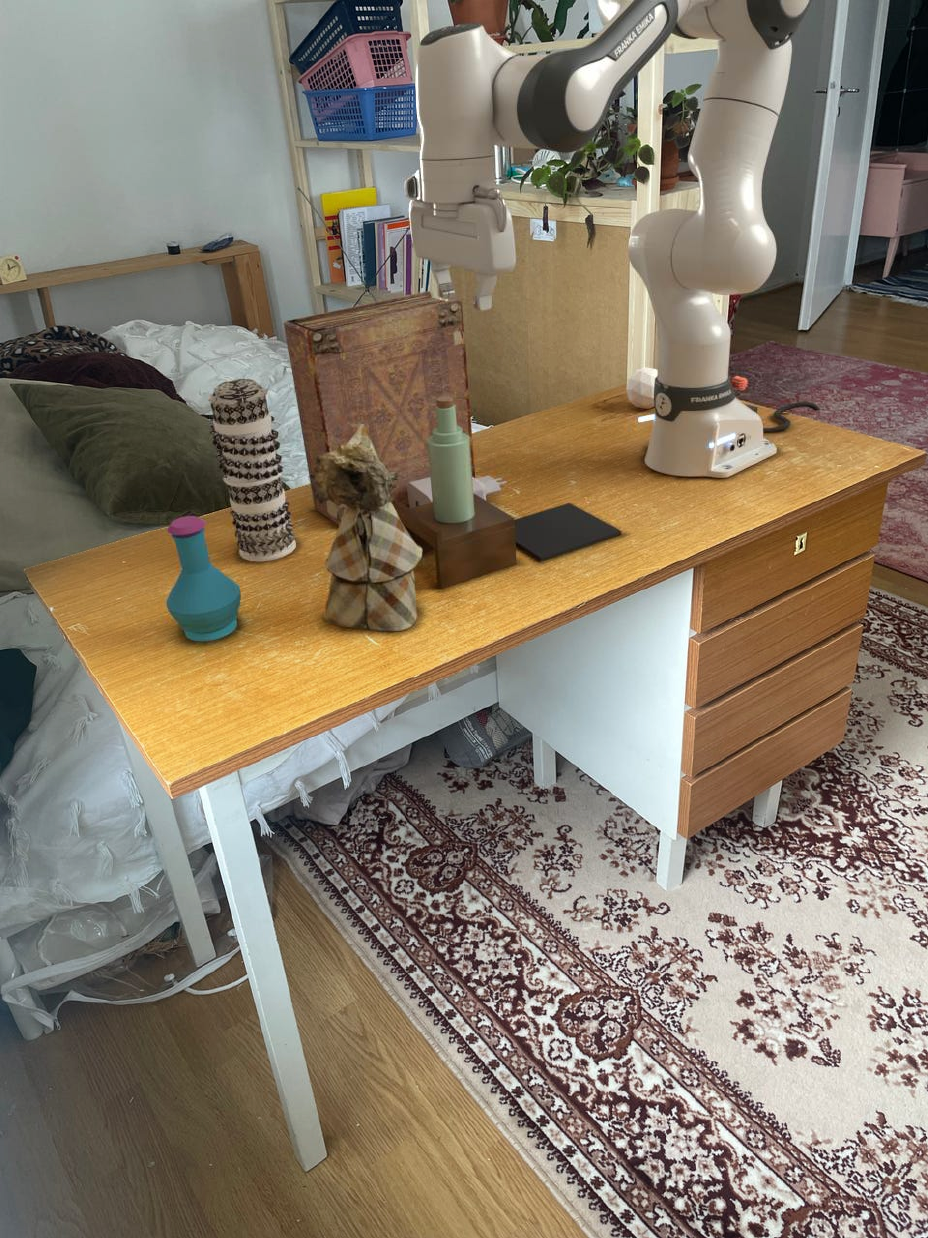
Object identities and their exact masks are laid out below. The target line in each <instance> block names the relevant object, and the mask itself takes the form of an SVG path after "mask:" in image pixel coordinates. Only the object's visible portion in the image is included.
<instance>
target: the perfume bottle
mask: <svg viewBox="0 0 928 1238" xmlns="http://www.w3.org/2000/svg"><path fill="white" fill-rule="evenodd" d="M206 525H207V522H206V521H205V520H204V519H202V518H201V517H199V516H196V515H187V516H182V517H178V518H175V519H174V520H173V521H172V522H171V523H170V524H169V526H168V527H167V529H166V532H167V533H168V534H170V535H171V538H172V539H173V540H174V543H175V548H176V553H177V556H178V560H179V564H180V567H181V568H180V569H181V570H180V572H179V574H178V576H177V579H176V581H175V583H174V584H173V587H172V588H171V590H170V592H169V594H168V595H167V598H166V603H165V605H166V607H167V610H168V612H169V614H170V615H171V617H172V619H174V621H175V622H176V623H177V624H178V626H179V628H181V629H182V630H183V631H184V634H185V636H186V638H188V639H189V640H190V641H194V642H211V641H215V640H219V639H222V638H224V637H226V636H228V635H230V634H231V633H233V632H234V631H235V630H236V628H237V626H238V622H237V618H238V615H239V608H240V605H241V600H242V599H241V597H242V595H241V588H240V585H239V584H238V583H237V582H235V580H233V579H232V578H230V577H229V576H228V575H226V574H225V573H224V572H222V571H221V570H219V569H218V568H217V567H216V566H214V565H213V564H212V563H211V559H210V556H209V550H208V546H207V542H206V537H205V532H206V531H205V527H206Z"/></svg>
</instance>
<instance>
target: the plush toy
mask: <svg viewBox="0 0 928 1238" xmlns="http://www.w3.org/2000/svg"><path fill="white" fill-rule="evenodd" d="M316 464H317V465H318V467H315V469H314V472H313V475H310V476H309V475H308V477H309V478H310V477H311V478H314V484H312V488H311V492H312V491H313V494H312V497H313V496H314V498H317V499H318V502H319V504H323V503H324V502H326V501H328V500H331V501H332V502H334V504H335V505H336V506H339V505H341V504H344V505H346V509H345V512H344V515H343V518H342V521H341V523H340V526H339V525H338V526H339V527H338V528H337V531H336V534H335V536H334V539H333V541H332V545H331V547H330V548H331V549H330V551H329V555H328V557H326V560H325V562H324V565H325V567H326V568H325V569H326V570H327V572H329V573H331V576H330V583H329V589H328V594H327V599H326V602H325V611H324V612H323V614H322V621H325V622H329V623H331V624H333V625H335V626H341V627H345V628H351V629H352V628H353V629H364V630H369V631H373V630H374V631H382V632H400V631H401V632H402V631H404V630H407V629H410V628H411V627H412V626H414V625H415V623H416V620H417V618H418V615H419V614H418V611H417V598H416V596H417V595H416V594H417V593H416V592H417V591H416V587H415V584H416V581H415V579H416V578H415V570H414V569H415V567H416V566H417V565H418V564H419V562H420V561H421V560H422V558H423V554H422V551H423V549H422V548H421V547H420V546H419V545H417V544H416V543H415V542H414V540H413V539H412V537H411V536H410V534H409V533H408V532H407V530H406V528H405V526H404V525H403V524H402V522H401V520H400V518H399V516H398V514H397V512H396V510H395V508H394V506H393V504H392V503H391V502H392V499H393V495H391V494H390V492H391V491H392V489H394V488H396V487H397V486H396V485H395V483H394V480H398V479H397V477H398V476H399V474H398V473H393V472H388V470H387V469H386V468H385V466H384V464H383V463H381V462H380V461H379V458H378V457H377V454H376V451H375V448H374V446H373V444H372V442H371V439H370V437H369V434H368V432H367V429H366V427H365V425H364V424H362V425H358V429H357V431H356V433H355V434H354V436H353V437H352V438H351V439H350V440H349V442H348V443H347V444H346V445H340V444H337V449H336V450H335V451H333V452H329V453H324V455H323V456H317V458H316ZM317 481H318V482H317ZM338 503H340V504H338Z"/></svg>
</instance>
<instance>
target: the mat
mask: <svg viewBox="0 0 928 1238" xmlns="http://www.w3.org/2000/svg"><path fill="white" fill-rule="evenodd" d="M514 520H515V541H516V547H518V548H519V549H520V550H522V551H524V552H525V553H527V554H529V555H530V556H532V557H533V558H535V559H536V560H537V561H538V562H544V561H547V560H550V559H553V558H556V557H559V556H561V555H565V554H568V553H571V552H574V551H576V550H580V549H582V548H583V549H584V548H586V547H588V546H591V545H595V544H598V543H600V542H603V541H606V540H610V539H612V538H615V537H619V536H622V530H620V529H619V528H617V527H614V526H613V525H611V524H610V523H608V522H606V521H604V520H602V519H601V518H598V517H596V516H595V515H593V514H591V513H590V512H588V511H586V510H584V509H581V508H580V507H578V506H576V505H574V504H573V503H571V502H567V503H565V504H561V505H558V506H557V505H556V506H554V507H551V508H547V509H545V510H541V511H539V512H536V513H532V514H528V515H525V516H522V517H520V518H516V519H514Z"/></svg>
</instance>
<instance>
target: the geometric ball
mask: <svg viewBox="0 0 928 1238" xmlns="http://www.w3.org/2000/svg"><path fill="white" fill-rule="evenodd" d="M657 371H658V369H656V368H652V367H646V366H643V367H641V368H639V369H636V370H634V371H633V372H632V373H631V375H630V376H629V377H628V379H627V381H626V388H625V391H626V395H627V398H628V399H627V400H628V401H629V402H630V403H631V404H632V405H634V406H635V407H636V408H639V409H645V410H650V409H651V408H655V405H654V383H655V378H656V377H657Z"/></svg>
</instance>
